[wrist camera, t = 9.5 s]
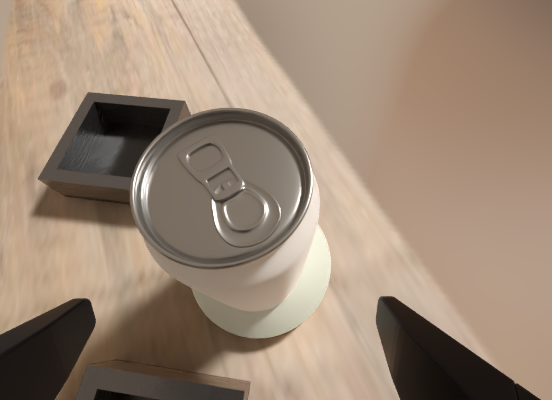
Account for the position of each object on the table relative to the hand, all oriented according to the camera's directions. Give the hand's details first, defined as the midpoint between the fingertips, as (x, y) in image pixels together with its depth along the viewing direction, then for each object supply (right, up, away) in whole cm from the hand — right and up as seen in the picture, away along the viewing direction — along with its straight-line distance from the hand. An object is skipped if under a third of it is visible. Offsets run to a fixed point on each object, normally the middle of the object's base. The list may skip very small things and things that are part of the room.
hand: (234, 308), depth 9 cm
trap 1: (-12, +7, +17) cm, 21 cm away
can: (0, -1, +11) cm, 11 cm away
